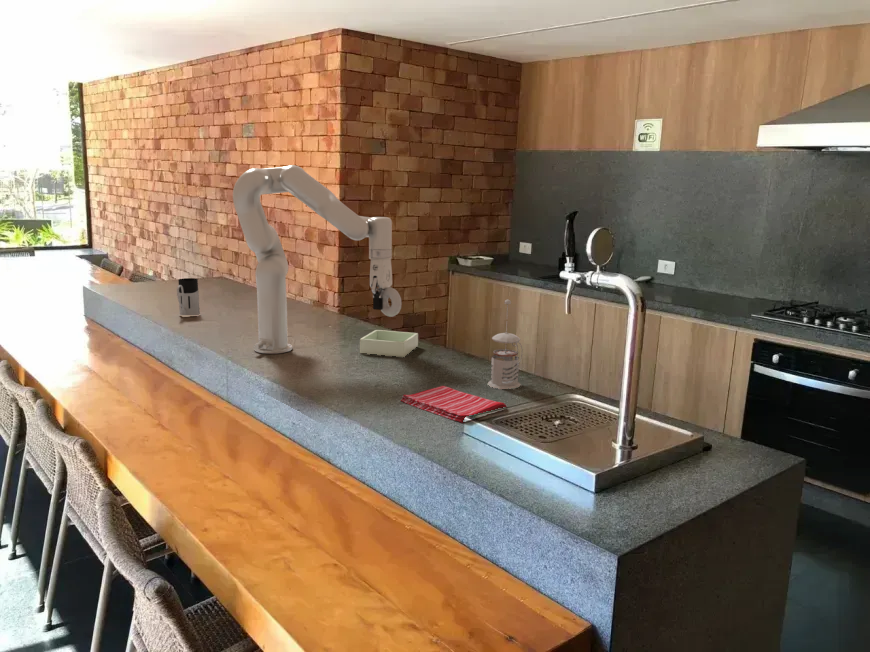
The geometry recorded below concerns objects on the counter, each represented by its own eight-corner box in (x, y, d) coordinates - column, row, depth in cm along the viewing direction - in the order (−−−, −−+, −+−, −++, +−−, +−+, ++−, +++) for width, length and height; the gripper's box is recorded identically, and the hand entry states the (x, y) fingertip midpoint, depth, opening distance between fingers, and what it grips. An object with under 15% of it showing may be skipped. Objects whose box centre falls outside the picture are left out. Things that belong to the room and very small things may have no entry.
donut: (375, 315, 241) (376, 285, 239) (383, 313, 243) (383, 285, 241) (396, 319, 234) (396, 289, 232) (403, 318, 237) (404, 288, 235)
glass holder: (204, 313, 298) (202, 278, 295) (189, 320, 285) (187, 283, 281) (184, 312, 299) (182, 277, 296) (168, 319, 285) (166, 282, 282)
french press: (480, 384, 205) (483, 299, 200) (506, 377, 213) (509, 294, 208) (506, 391, 198) (510, 303, 193) (532, 384, 206) (536, 299, 201)
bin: (404, 357, 233) (404, 342, 232) (359, 353, 237) (359, 339, 236) (417, 347, 248) (418, 333, 247) (375, 343, 252) (375, 329, 251)
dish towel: (464, 426, 171) (464, 416, 171) (398, 403, 188) (398, 393, 187) (509, 411, 183) (509, 401, 183) (443, 390, 200) (444, 381, 199)
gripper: (382, 257, 228) (382, 313, 232) (398, 252, 244) (398, 304, 247) (360, 256, 230) (360, 311, 234) (378, 251, 246) (378, 303, 249)
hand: (380, 307), depth 240 cm, fingers closed on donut, 3 cm apart
